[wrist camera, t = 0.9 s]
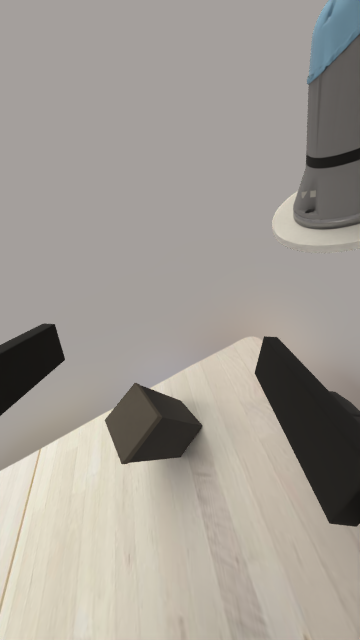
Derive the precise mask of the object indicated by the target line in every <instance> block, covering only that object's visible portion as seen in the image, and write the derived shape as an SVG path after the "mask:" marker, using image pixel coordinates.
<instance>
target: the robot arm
mask: <svg viewBox="0 0 360 640" xmlns="http://www.w3.org/2000/svg"><path fill="white" fill-rule="evenodd" d="M307 84H309V92H308V122H307V124H308V125H307V155H306V169H305V172H304V175H303V178H302V181H301V184H300V187H299V190H298V193H297V196H296V199H295V202H294V204H293V218H294V220H295V222H296V223H297V224H299V225H301V226H303V227H306V228H310V229H320V230H325V229H337V228H343V227H348V226H353V225H357V224H360V0H329V1H328V2H327V3H326V5H325V7H324V8H323V10H322V12H321V14H320V16H319V18H318V20H317V22H316V25H315V28H314V32H313V36H312V46H311V58H310V70H309V76H308V79H307ZM64 360H65V358H64V354H63V351H62V348H61V344H60V341H59V337H58V334H57V330H56V327H55V324H42V325H40V326H38V327H36V328H34V329H31V330H30V331H27V332H25V333H24V334H21V335H19V336H18V337H15V338H13V339H11V340H9V341H7V342H5V343H4V344H2V345H0V416H1V415H2V414H3V413H4V412H5V411H6V410H7V409H9V408H10V407H11V406H12V405H13V404H14V403H16V402H17V401H18V400H19V399H20V398H21V397H23V396H24V395H25V394H26V393H27V392H28V391H29V390H31V389H32V388H33V387H34V386H35V385H36V384H38V383H39V382H40V381H41V380H42V379H43V378H44V377H45V376H47V375H48V374H49V373H50V372H51V371H53V370H54V369H55V368H56V367H57V366H58V365H60V363H62V362H63V361H64ZM255 375H256V377H257V379H258V381H259V383H260V385H261V387H262V389H263V391H264V393H265V395H266V397H267V399H268V401H269V403H270V405H271V407H272V409H273V411H274V413H275V415H276V417H277V419H278V421H279V423H280V425H281V427H282V429H283V431H284V433H285V435H286V437H287V439H288V441H289V443H290V445H291V447H292V449H293V451H294V453H295V455H296V457H297V459H298V461H299V463H300V465H301V467H302V469H303V471H304V473H305V475H306V477H307V479H308V481H309V483H310V485H311V487H312V489H313V491H314V493H315V495H316V497H317V499H318V501H319V503H320V505H321V507H322V509H323V511H324V513H325V515H326V517H327V519H328V521H329V523H330V524H339V525H347V526H356V527H357V526H358V525H359V524H360V411H359V410H358V409H357V408H356V407H355V406H354V405H353V404H352V403H351V402H349V401H348V400H346V399H345V398H343V397H342V396H340V395H339V394H338V393H336V392H330V391H328V390H327V389H326V388H325V387H324V386H323V385H322V384H321V383H320V382H319V381H318V379H317V378H315V376H314V375H313V374H312V373H311V372H310V371H309V370H308V369H307V368H306V367H305V366H304V365H303V364H302V363H301V362H300V361H299V360H298V359H297V358H296V356H294V354H293V353H292V352H291V351H290V350H289V349H288V348H287V347H286V346H285V345H284V344H283V343H282V342H281V341H280V340H279V339H278V338H277V337H264V339H263V343H262V347H261V351H260V354H259V358H258V362H257V366H256V370H255Z"/></svg>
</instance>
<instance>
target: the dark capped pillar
mask: <svg viewBox="0 0 360 640" xmlns="http://www.w3.org/2000/svg"><path fill="white" fill-rule="evenodd" d="M105 422H106V424H107V427H108V430H109V432H110V435H111V437H112V440H113V443H114V445H115V448H116V450H117V453H118V456H119V458H120V461H121V464H128V463H131V462H140V461H150V460H159V459H168V458H178V457H181V456H182V454H183V453H184V452H185V450H186V449H187V447H188V446H189V445H190V443H191V442H192V440H193V439H194V437H195V436H196V435H197V433H198V432H199V430H200V429H201V427H202V424H201V423H200V422H199V421H198V420H197V419H196V418H195V416H194V415H193V414H192V413H191V412H190V411H189V410H188V408H187V407H186V406H185V405H184V404H183V403H182V402H181V401H180V400H177V399H175V398H172V397H169V396H167V395H164V394H162V393H159V392H157V391H154V390H151V389H149V388H146V387H143V386H140V385H139V384H137V383H134V385H133V386H132V387H131V388H130V390H129V391H128V392H127V393H126V395H125V396H124V397H123V398H122V399H121V401H120V402H119V403H118V404H117V406H116V407H115V408H114V409H113V411H112V412H111V413H110V414H109V416H108V417H107V418H106V419H105Z"/></svg>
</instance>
